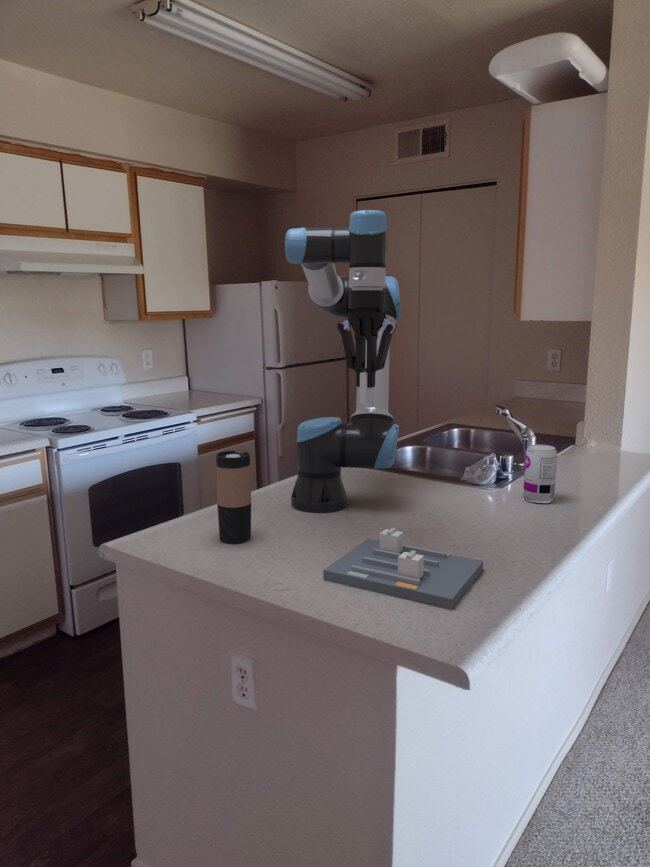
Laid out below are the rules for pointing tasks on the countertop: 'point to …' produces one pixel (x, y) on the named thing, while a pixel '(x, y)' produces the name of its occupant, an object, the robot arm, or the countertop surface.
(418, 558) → the tab
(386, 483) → the countertop surface
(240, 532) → the travel mug
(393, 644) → the countertop surface
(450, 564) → the switch board
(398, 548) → the tab
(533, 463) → the supplement can
